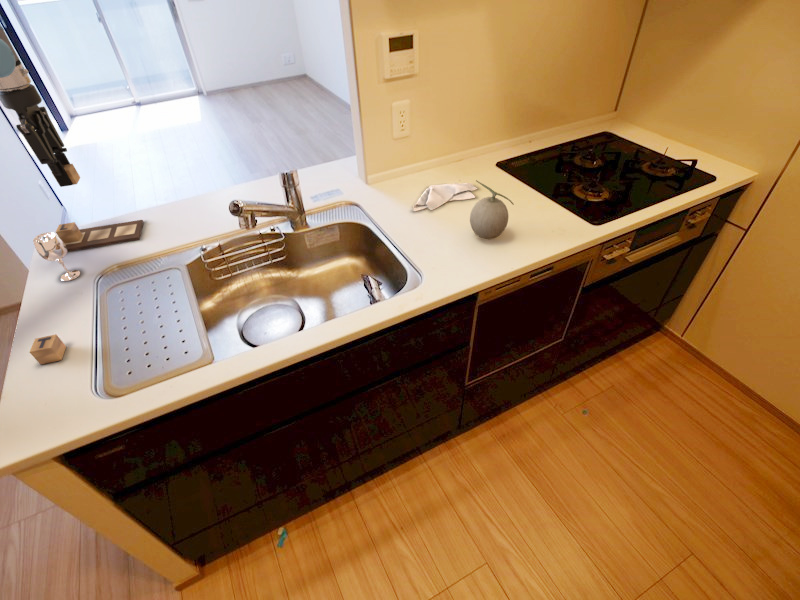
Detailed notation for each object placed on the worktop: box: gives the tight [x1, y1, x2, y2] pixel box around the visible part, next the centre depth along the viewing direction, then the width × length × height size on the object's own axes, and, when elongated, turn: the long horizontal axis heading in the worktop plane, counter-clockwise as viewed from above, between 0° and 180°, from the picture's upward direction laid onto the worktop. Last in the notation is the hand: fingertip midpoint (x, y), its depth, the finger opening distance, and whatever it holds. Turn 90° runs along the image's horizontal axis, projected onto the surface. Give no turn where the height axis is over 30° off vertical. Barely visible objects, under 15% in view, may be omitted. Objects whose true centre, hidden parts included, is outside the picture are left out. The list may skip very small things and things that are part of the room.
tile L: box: [55, 222, 82, 243], centre depth 121 cm, size 4×4×4 cm
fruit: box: [469, 180, 515, 240], centre depth 118 cm, size 10×12×15 cm
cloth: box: [412, 182, 478, 212], centre depth 140 cm, size 26×14×2 cm, turn 115°
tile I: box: [51, 163, 81, 186], centre depth 112 cm, size 4×4×4 cm
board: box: [64, 219, 145, 253], centre depth 125 cm, size 22×10×1 cm, turn 108°
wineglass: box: [32, 231, 81, 282], centre depth 108 cm, size 6×6×12 cm
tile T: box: [29, 334, 67, 365], centre depth 90 cm, size 4×4×4 cm
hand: (69, 181), depth 113 cm, fingers closed on tile I, 4 cm apart
